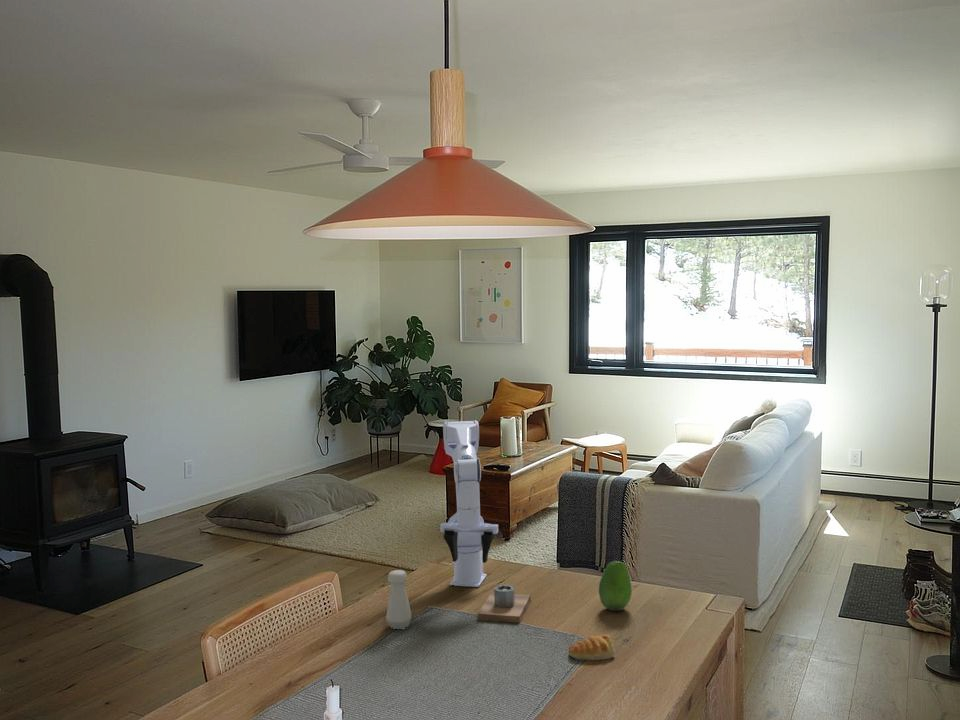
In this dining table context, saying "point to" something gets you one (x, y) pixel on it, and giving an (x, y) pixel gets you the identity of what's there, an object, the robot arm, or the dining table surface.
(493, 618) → the shaft block
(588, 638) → the pastry
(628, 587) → the avocado
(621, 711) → the dining table surface
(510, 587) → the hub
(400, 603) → the salt shaker
